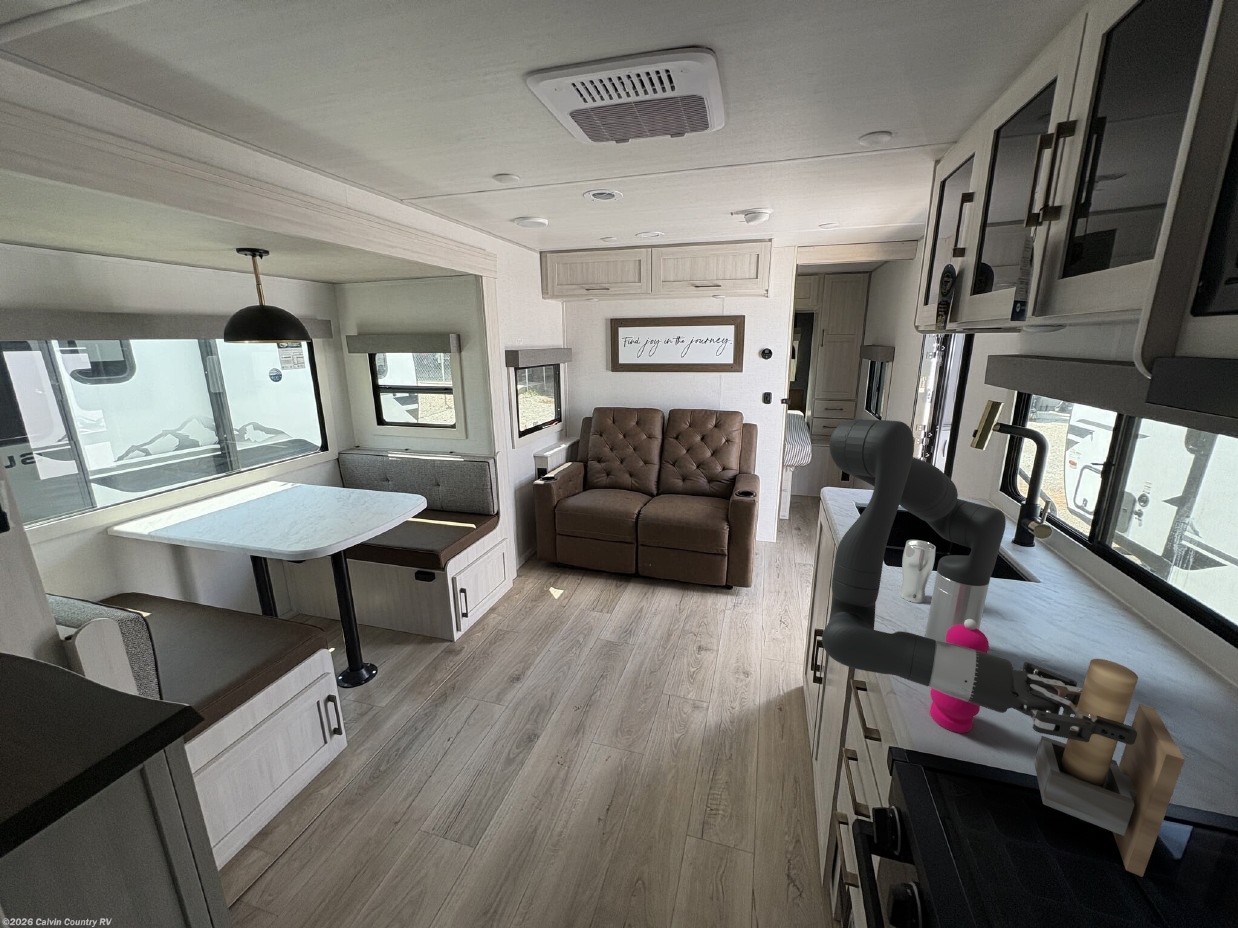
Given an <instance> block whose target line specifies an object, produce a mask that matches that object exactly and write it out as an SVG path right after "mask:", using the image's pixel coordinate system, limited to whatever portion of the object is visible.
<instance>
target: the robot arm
mask: <svg viewBox="0 0 1238 928" xmlns="http://www.w3.org/2000/svg"><path fill="white" fill-rule="evenodd" d="M829 452H830V453H829V454H830V457H831V458H832V461H833V462H834V464H835V465H836V467H837V468H838V469H839V470H841V471H842V472H844V473H846V474H848V475H850V476H852V477H854V478H857V479H860V480H861V481H863V482H865V483H867V484H869V485H871V486H873V487H874V488H873V490H872V491H873V492H872V494H871V498H870V500H869V502H868V504H867V505H866V507H865V508H864V510H863V512H862V513H861V514H860V515H859V516H858V518H857V519H856V521H855V522H853V524H852V525H851V526H850V527H849V528H848V530H847V531H846V532H845V534H843V536H842V538H841V540H840V541H839V543H838V546H837V548H836V552H835V556H834V558H835V559H834V563H833V564H834V565H833V566H834V567H833V573H832V581H831V592H832V594H833V596H832V604H831V610H830V615H829V620H828V623H827V625H826V626H825V628H824V629H823V632H822V635H821V642H822V647H823V649H824V651H825V652H826V654H827V655H828V656H829V657H830V658H831V659H832V660H834V661H836V662H837V663H839V664H841V665H843V666H846V667H848V668H852V669H855V670H860V671H864V672H871V673H876V674H881V675H892V676H896V677H899V678H902V679H904V680H907V681H910V682H912V683H916V684H919V685H921V686H925V687H929V688H930V689H931V688H933V689H935V690H937V691H939V692H942V693H944V694H946V695H949V696H952V697H955V698H958V699H961V700H964V701H967V702H970V703H973V704H976V705H979V706H980V707H982V708H984V709H988V710H990V711H994V712H997V713H1001V714H1003V713H1006V712H1007V711H1008V710H1009V709H1014V710H1016V711H1018V712H1020V713H1021V714H1023V715H1026V716H1029V717H1030V718H1031V720H1032V721H1033V724H1032V729H1033V730H1034V731H1035V732H1037V733H1039V734H1044V735H1049V736H1054V737H1059V738H1064V739H1067V740H1068V739H1073V740H1078V741H1083V742H1089V740H1090V737H1091V735H1093V734H1097V735H1101V736H1104V737H1107V738H1110V739H1113V740H1116V741H1118V742H1119V743H1122V744H1125V745H1126V744H1129V745H1132V744H1134V743H1135V740H1136V737H1137V732H1136V730H1135V728H1134V727H1132V725H1128V724H1126V723H1124V724H1123V723H1119V722H1116V721H1113V720H1109V719H1106V718H1103V717H1100V716H1095V715H1093V714H1091V713H1088V712H1086V711H1084V710H1081V709H1079V708H1077V706H1078V702H1079V699H1080V695H1081V692H1082V688H1083V687H1082V688H1081V687H1079V686H1078V681H1076V680H1074V679H1072V678H1069V677H1066V676H1064V675H1062V674H1059V673H1058V672H1055V671H1052V670H1049V669H1047V668H1044V667H1041V666H1040V665H1037V664H1035V663H1032V662H1029V661H1025V662H1023V665H1022V669H1021V670H1020V669H1019V670H1018V669H1015V668H1014V664H1013V662H1012V661H1011V660H1010V659H1007V658H1005V657H1001V656H999V655H994V654H991V653H988V652H987V653H985V652H981V651H978V650H974V649H971V648H967V647H964V646H960V645H957V644H952V643H947V642H946V634H947V631H948V630H949V629H950V628H951V627H952V626H954V625H959V624H964V622H965V620H967V619H972V620H974V621H975V622H976V623H977V629H979V630H980V627H981V622H982V619H983V614H984V610H985V604H986V600H987V595H988V591H989V586H990V581H991V577H992V574H993V572H994V569H995V565H996V562H997V558H998V554H999V551H1000V547H1001V544H1002V541H1003V538H1004V534H1005V530H1006V524H1007V523H1006V522H1007V521H1006V520H1007V519H1006V516H1005V514H1004V512H1003V511H1002V510H1000V509H998V508H995V507H991V506H987V505H983V504H979V503H977V502H971V501H968V500H965V499H960V498H958V497H959V495H958V489H957V486H956V484H955V482H954V481H953V480H952V478H950V477H949V476H948V475H947V474H945V473H944V472H943V471H942V470H941V469H940V468H938V467H937V466H935V465H933V464H932V463H930V462H927V461H925V460H923V459H920V458H918V457H914V452H915V437H914V434H913V431H912V429H911V428H910V426H909V425H908V424H907V423H905V422H903V421H901V420H886V419H885V420H883V419H863V418H861V419H851V420H847V421H844V422H842V423H840V424H839V425H837V427H835V429H834V430H833V431H832V433H831V435H830V439H829ZM899 506H900V507H901V508H902V509H904V510H906V512H909V513H911V514H912V515H913V516H915V517H917V518H919V520H922V521H925V522H926V523H927V524H928V525H929V526H930V528H931V529H933V530H934V532H935V533H937V534H938V535H939V536H940V537H941V538H942V539H944V540H946V541H948V542H951V543H954V544H958V545H960V546H962V547H965V548H969V549H971V550H970V553H969V554H968V555H962V554H961V555H960V554H959V555H957V554H954V555H953V554H952V555H951V554H949V555H945V556H942V557H941V558H940V559H939V560H938V564H937V569H936V573H935V575H936V576H935V578H934V579H935V580H934V581H935V582H934V584H933V591H932V597H931V601H930V607H929V611H928V616H927V622H926V628H925V633H924V636H922V635H920V634H916V633H911V632H907V631H900V630H899V631H895V632H893V633H891V632H890V633H889V632H884V631H881V630H876V629H875V621H876V605H877V604H876V602H877V601H878V600H877V599H878V596H879V592H880V586H881V579H882V572H883V566H884V559H885V554H886V548H887V546H888V544H887V543H888V541H889V536H890V534H891V532H892V528H893V524H894V523H895V522H894V521H895V518H896V515H897V513H898V510H899ZM1061 708H1063V710H1062V714H1060V711H1061ZM1071 715H1074V716H1075V715H1076V716H1078V717H1081V718H1083V719H1081V718H1075V717H1074V716H1071ZM1071 728H1073V729H1076V730H1078V731H1073V730H1070V729H1071Z"/></svg>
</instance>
